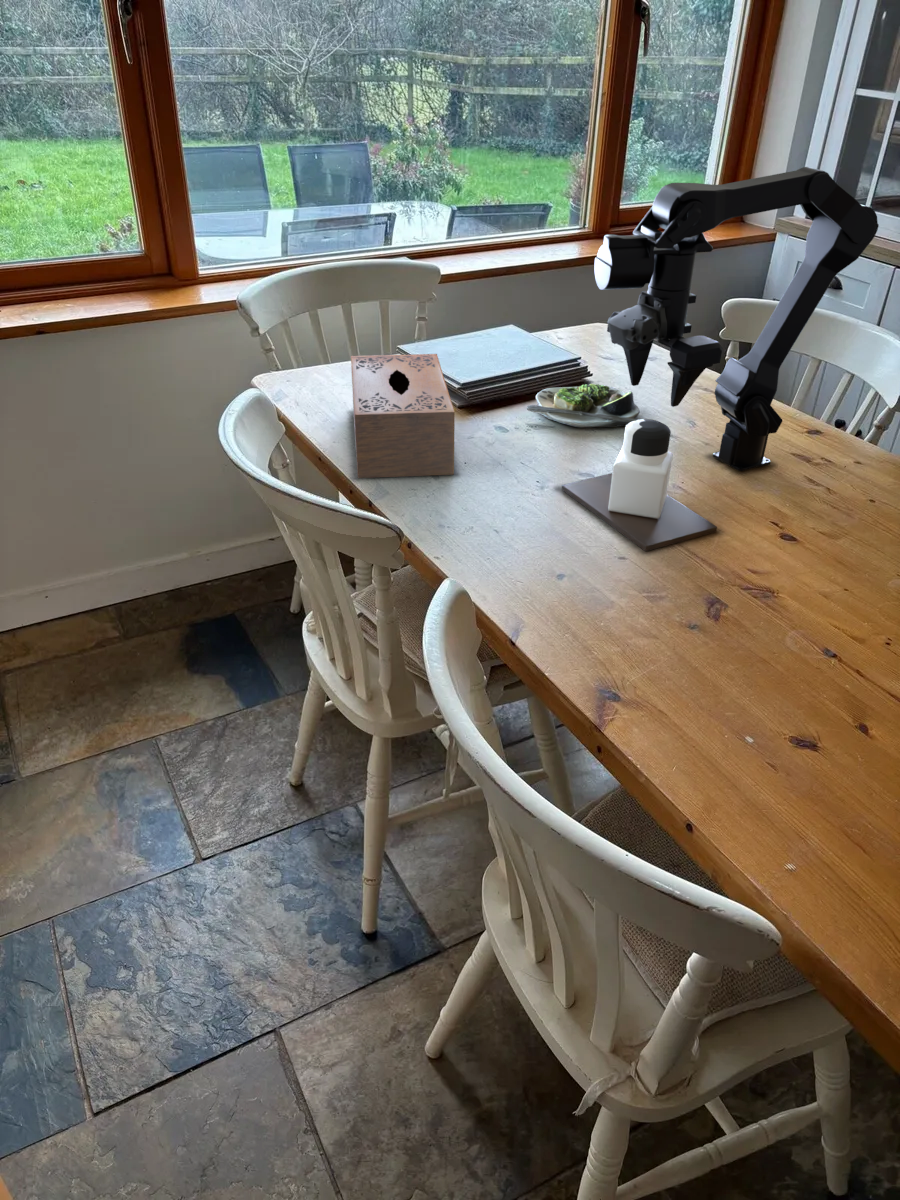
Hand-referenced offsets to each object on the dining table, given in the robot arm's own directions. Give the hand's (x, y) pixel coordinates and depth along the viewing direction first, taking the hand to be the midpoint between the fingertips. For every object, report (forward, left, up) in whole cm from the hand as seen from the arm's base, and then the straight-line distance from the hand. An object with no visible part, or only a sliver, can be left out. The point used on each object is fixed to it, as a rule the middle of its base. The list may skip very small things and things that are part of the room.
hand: (654, 395), depth 132 cm
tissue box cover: (+29, -26, -12) cm, 41 cm away
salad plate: (-6, -23, -12) cm, 27 cm away
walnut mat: (+9, +10, -12) cm, 18 cm away
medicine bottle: (+9, +10, -11) cm, 18 cm away
